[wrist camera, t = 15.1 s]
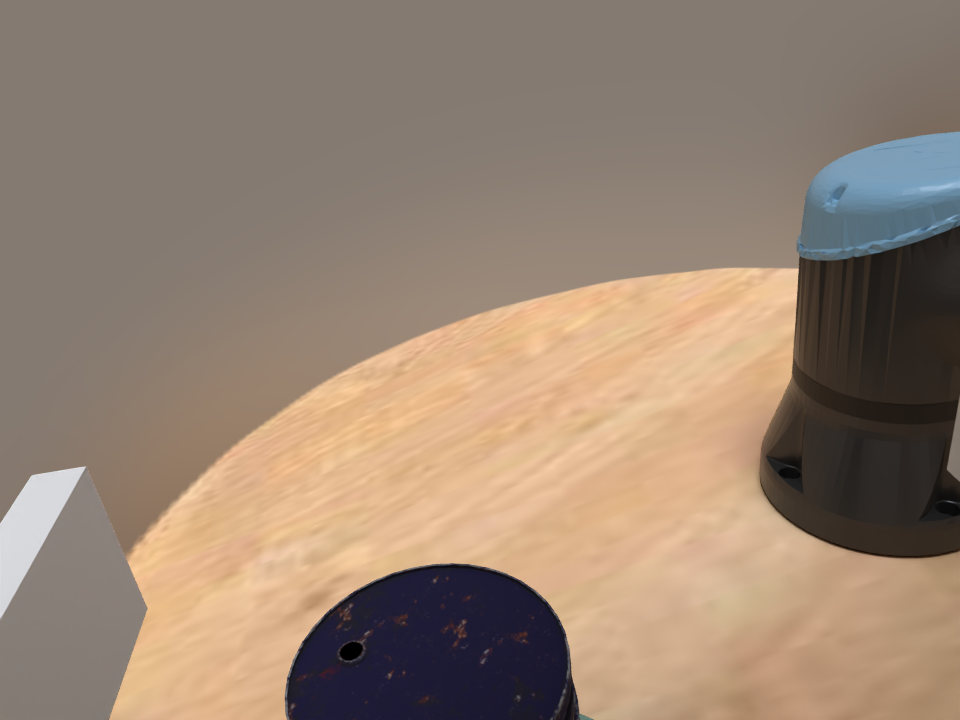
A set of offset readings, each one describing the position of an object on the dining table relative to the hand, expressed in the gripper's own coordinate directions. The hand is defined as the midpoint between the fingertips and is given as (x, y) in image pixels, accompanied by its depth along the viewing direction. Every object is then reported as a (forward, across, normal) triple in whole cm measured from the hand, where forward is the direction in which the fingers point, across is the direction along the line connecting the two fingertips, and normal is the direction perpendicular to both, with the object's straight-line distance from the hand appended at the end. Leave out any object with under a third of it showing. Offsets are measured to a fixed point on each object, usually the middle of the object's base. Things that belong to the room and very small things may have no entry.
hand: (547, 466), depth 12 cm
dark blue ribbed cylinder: (+10, -4, -29) cm, 31 cm away
